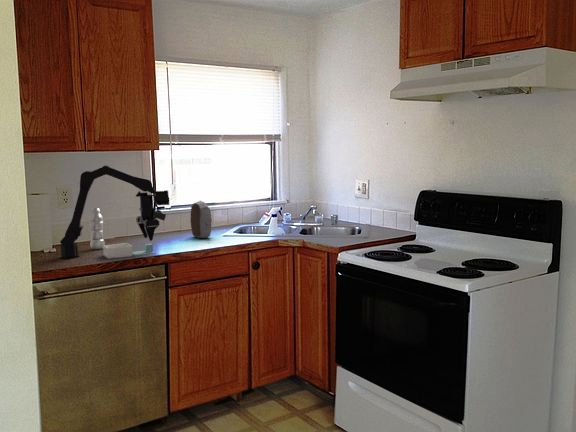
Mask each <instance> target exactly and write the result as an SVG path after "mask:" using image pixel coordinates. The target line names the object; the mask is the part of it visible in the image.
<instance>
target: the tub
mask: <svg viewBox="0 0 576 432" xmlns="http://www.w3.org/2000/svg"><path fill="white" fill-rule="evenodd" d="M102 249H103V256H104V257H105V258H106V259H109V260H110V259H118V258H127V257H133V256H134V255H133V252H134V251H133V245H131V244H130V243H128V242H125V243H115V244H114V243H113V244H105V245H103V248H102Z"/></svg>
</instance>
